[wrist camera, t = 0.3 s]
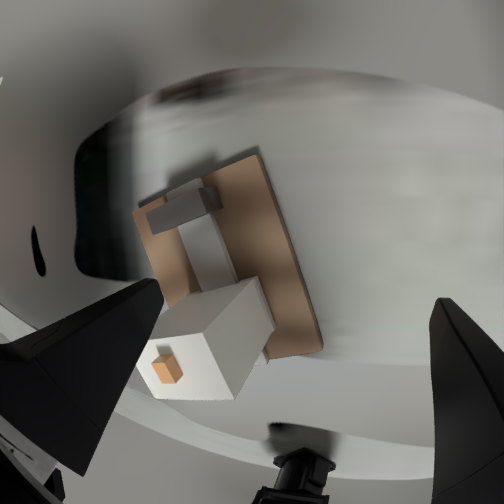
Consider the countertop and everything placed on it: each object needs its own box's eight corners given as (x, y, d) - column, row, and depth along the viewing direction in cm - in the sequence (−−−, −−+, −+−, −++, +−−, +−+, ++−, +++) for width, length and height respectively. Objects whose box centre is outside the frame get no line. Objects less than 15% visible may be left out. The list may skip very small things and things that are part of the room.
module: (276, 327, 25) (231, 410, 15) (207, 338, 28) (146, 405, 18) (257, 275, 24) (196, 341, 14) (188, 293, 27) (113, 349, 17)
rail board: (323, 344, 26) (318, 371, 22) (201, 361, 31) (183, 383, 27) (259, 155, 23) (241, 151, 19) (139, 210, 28) (110, 217, 24)
